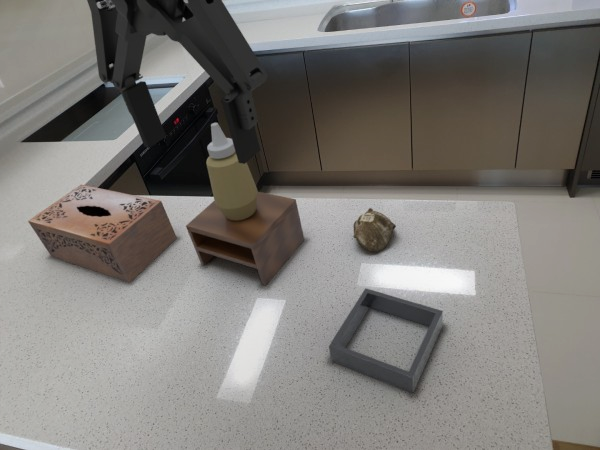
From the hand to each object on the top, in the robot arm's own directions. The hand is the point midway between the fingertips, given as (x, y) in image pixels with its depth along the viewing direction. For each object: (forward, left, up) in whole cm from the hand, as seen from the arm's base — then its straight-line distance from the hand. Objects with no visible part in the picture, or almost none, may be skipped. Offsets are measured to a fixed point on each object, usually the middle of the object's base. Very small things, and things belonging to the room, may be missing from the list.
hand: (199, 149), depth 49 cm
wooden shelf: (+20, +18, -37) cm, 46 cm away
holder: (+10, -15, -37) cm, 41 cm away
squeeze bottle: (+20, +18, -27) cm, 38 cm away
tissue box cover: (+10, +50, -37) cm, 63 cm away
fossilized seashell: (+32, -3, -37) cm, 49 cm away
